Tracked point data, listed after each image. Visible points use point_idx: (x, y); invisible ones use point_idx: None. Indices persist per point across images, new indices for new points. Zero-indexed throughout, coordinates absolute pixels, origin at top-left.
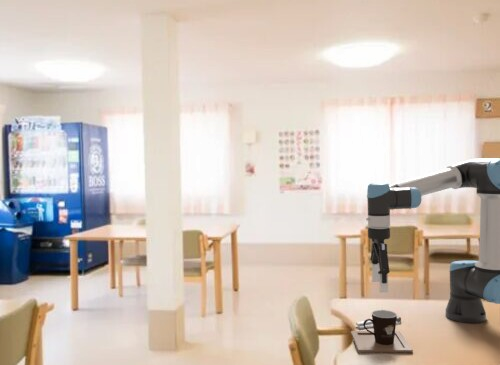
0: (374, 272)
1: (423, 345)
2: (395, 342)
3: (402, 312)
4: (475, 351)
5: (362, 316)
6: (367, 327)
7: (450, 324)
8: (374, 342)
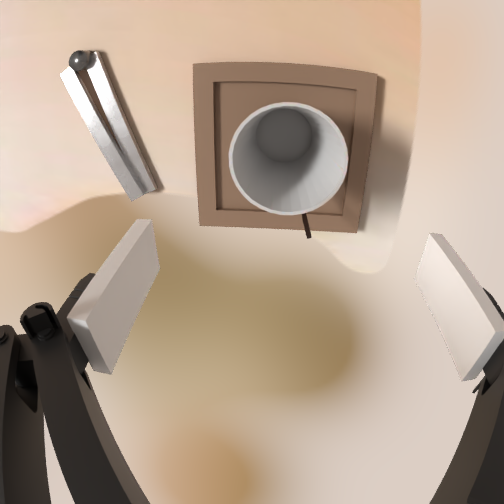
0: (132, 304)
1: (305, 14)
2: (294, 100)
3: (16, 50)
4: None
5: (53, 167)
6: (145, 163)
7: None
8: None
